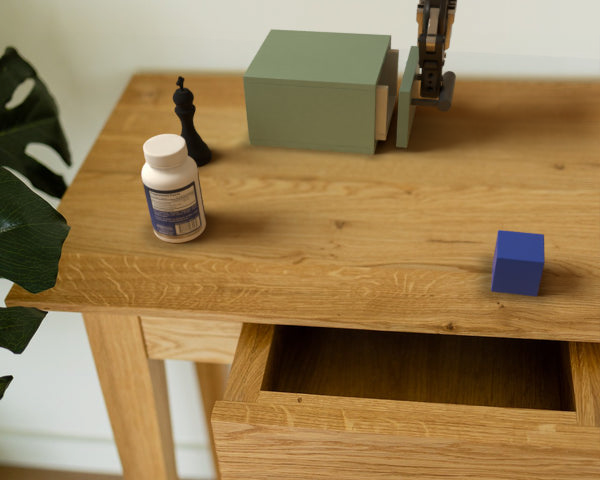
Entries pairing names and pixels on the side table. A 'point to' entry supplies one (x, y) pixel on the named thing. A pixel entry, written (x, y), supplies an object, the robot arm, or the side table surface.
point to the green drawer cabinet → (315, 90)
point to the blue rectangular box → (518, 263)
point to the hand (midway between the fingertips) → (430, 94)
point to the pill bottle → (172, 189)
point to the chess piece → (190, 125)
